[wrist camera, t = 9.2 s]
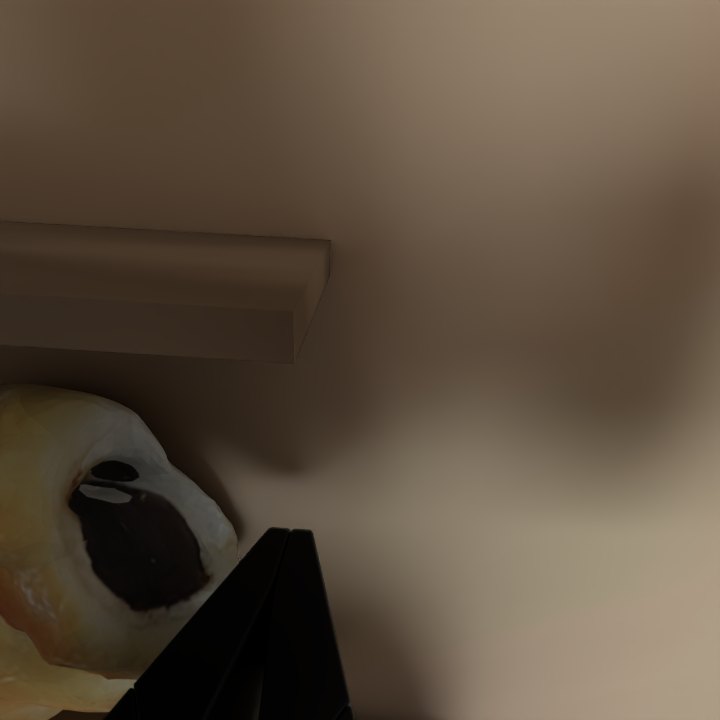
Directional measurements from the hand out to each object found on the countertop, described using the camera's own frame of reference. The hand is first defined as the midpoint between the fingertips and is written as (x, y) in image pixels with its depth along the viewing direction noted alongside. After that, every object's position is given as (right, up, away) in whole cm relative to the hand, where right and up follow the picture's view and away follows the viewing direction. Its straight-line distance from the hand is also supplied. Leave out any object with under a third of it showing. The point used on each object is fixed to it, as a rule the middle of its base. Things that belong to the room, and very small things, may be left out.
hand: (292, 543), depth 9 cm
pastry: (-9, +2, +2) cm, 9 cm away
